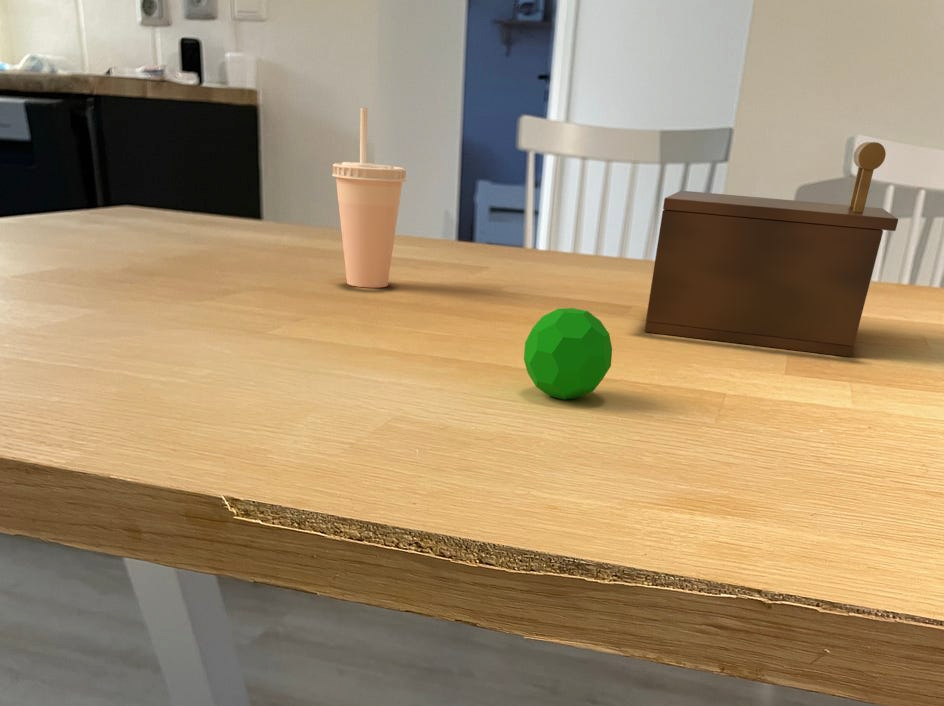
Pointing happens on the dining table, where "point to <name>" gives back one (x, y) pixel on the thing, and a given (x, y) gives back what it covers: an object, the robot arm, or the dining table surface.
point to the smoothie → (368, 215)
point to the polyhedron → (568, 353)
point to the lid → (799, 211)
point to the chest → (761, 281)
